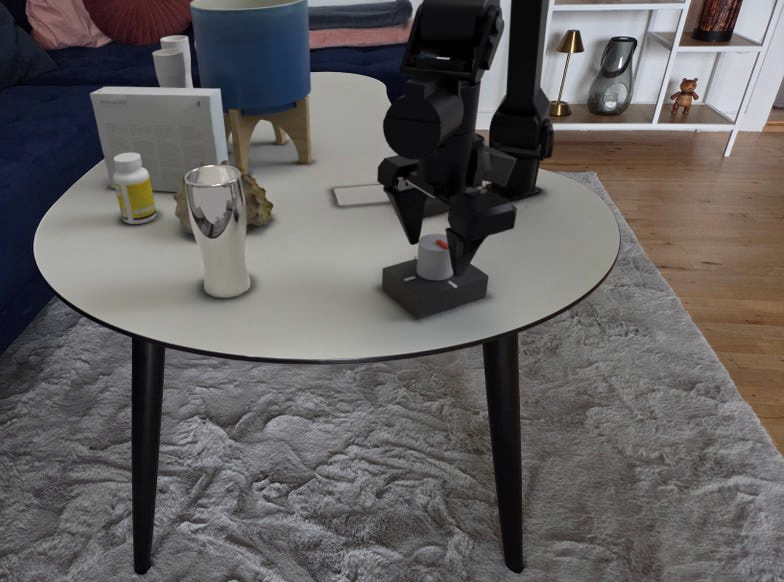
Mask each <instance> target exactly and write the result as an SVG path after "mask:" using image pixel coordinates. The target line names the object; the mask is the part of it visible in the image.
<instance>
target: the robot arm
mask: <svg viewBox="0 0 784 582" xmlns="http://www.w3.org/2000/svg"><path fill="white" fill-rule="evenodd" d="M549 3H550V0H510V11H509V12H510V13H509V15H510V16H509V31H508V49H507V50H508V51H507V68H506V69H507V71H506V86H505V87H506V89H505V94H504V96H503V98H502V99H501V101H500V103H499V105H498V106H497V108H496V110H495V112H494V113H493V114H492V117H491V120H490V123H489V130H488V145H486V143H485V142H486V138H485V136H484V135H482V134H479V133H477V132H476V128H477V117H478V112H479V111H478V110H479V102H480V93H481V84H482V79H483V77H484V74H485V72H486V71H490V70H491V67H492V64H493V62H494V59H495V56H496V53H497V50H498V47H499V45H500V42H501V39H502V36H503V33H504V31H505V20H504V19H503V9H502V7H501V0H422V2H421V3H420V4H419V5H418V6H417V9H416V11H415V14H414V18H413V21H412V24H411V28H410V32H409V35H408V39H407V42H406V46H405V49H404V53H403V56H402V61H401V62H400V67H399V73H398V74H399V76H407V77H413V78H410V79H408V80H407V81H406V82H405V83H404V93H403V94H404V95H402V96H400V97H399V98H397V99H396V100H395V101H393V102H392V103H391V104H390V106H389V107H388V109H387V110H386V112H385V115H384V118H383V120H382V133H383V136H384V139H385V142H386V143H387V145H388V147H389V148H390V149H391V150H392V152H394V153H395V154H396V155H392V156H387V157H384V158H383V159H382V161H381V162H380V163H379V164H378V166H377V183H379V184H382V185H383V186H384V187H383V191H384V192H385V193H386V194H387V196H388V198H389V200H390V202H391V203H390V204H391V206H392V208H393V210H394V212H395V214H396V216H397V218H398V220H399V223H400V226H401V227H402V230H403V233H404V234H405V236H406V239H407V242H408V243H409V245H411V246H414V245H418V244H419V240H420V238H421V235H422V234H421V233H422V227H423V221H424V218H423V215H424V208H425V202H426V199H427V198H428V196H430V197H432V198H437V199H439V200H441V201H442V202H444V203H446V204H447V205H449V206H451V208H450V209H449V210H448V211H447V222H448V225H449V227H446V228H445V235H446V236H447V243H448V248H449V254H450V261H451V266H452V271H453V275H454V276H455V277H456V278H457V277H460V276H463V275H464V273H465V271H466V270H467V268H468V266H469V264H471V263H472V261H473V259H474V257H475V255H476V254H477V252H478V250H479V249H480V248H481V246H482V244H483V243H484V241H485V240H486V239H487V238H488V237H489V236H492V235H496V234H500V233H503V232H506V231H509V230H513V229H515V224H516V218H517V213H518V208H517V207H516V206H515V204H514V203H513V202H512V201H516V200H517V201H518V200H520V199H523V198H527V197H531V196H534V195H535V196H536V195H539V194H542V193H543V189H542V188H541V187H539V186H536V185H537V181H538V175H539V169H540V164H541V162H544V160H546V159H551V158H552V157H553V153H554V152H553V151H554V146H555V130H554V125H553V119H552V118H550V115H551V114H550V113H551V102H550V101H551V100H549V98H548V97H547V95H546V93H545V91H544V90H543V88H542V86H541V84H542V73H543V72H542V71H543V63H544V54H545V53H544V52H545V45H546V44H545V43H546V34H547V23H548V12H549ZM422 53H423V55H424V57H422V56H421V54H422ZM425 56H426V57H425ZM483 181H484V182H488V183H486V184H485V189H487V190H489V191H487V192H482V193H480V194H478V195H474V196H471V195H470V194H468V193H466V191H467V188H469V187H471V188H481V187H483Z"/></svg>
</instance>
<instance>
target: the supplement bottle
mask: <svg viewBox="0 0 784 582" xmlns="http://www.w3.org/2000/svg"><path fill="white" fill-rule="evenodd" d="M114 164H115V168H116V169H117V171H116V172H115V173H114V175H113V181H114V185H115V188H114V189H115V193H116V197H117V201H118V205H119V211H120V214H121V218H122V220H123V222H124V223H127V224H130V225H140V224H145V223H148V222H151V221H153V220H154V219H155V218H156V216H157V207H156V203H155V198H154V191H152V187H151V182H150V177H149V173H148V171H147V170H146V169H145V168H143V167H141V165H142V161H141V157H140V154H138V153H123V154H119V155H117V156H115V157H114Z"/></svg>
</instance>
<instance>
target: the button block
mask: <svg viewBox="0 0 784 582" xmlns="http://www.w3.org/2000/svg"><path fill="white" fill-rule="evenodd" d="M481 192H482V190H481V188H480V187H477V188H471V187H469V188H467V191H466V193H468V194H470V195H471V196H474V195H478V194H482V193H481ZM450 208H451V206H449V205H447V204H446V203H444V202H442V201H441V200H439V199H437V198H432V197H430V196H428V198H427V199H426V202H425V208H424V215H423V219H425V218H427V217H432V216H435V215H439V214H443V213H448V210H449V209H450Z"/></svg>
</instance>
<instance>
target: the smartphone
mask: <svg viewBox="0 0 784 582" xmlns="http://www.w3.org/2000/svg"><path fill="white" fill-rule="evenodd" d="M383 187H384V186H383V185H382V184H380V183H379V184H368V185H366V184H365V185H356V186H355V185H353V186H343V187H334V188H333V189H332V191H331V192H332V195H333V198H334V201H335V205H336V207H338V208H349V207H350V208H351V207H362V206H376V205H377V206H378V205H388V204H391V202H390V200H389V198H388V196H387V194H386V193H385V192H384V191H383Z"/></svg>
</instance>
